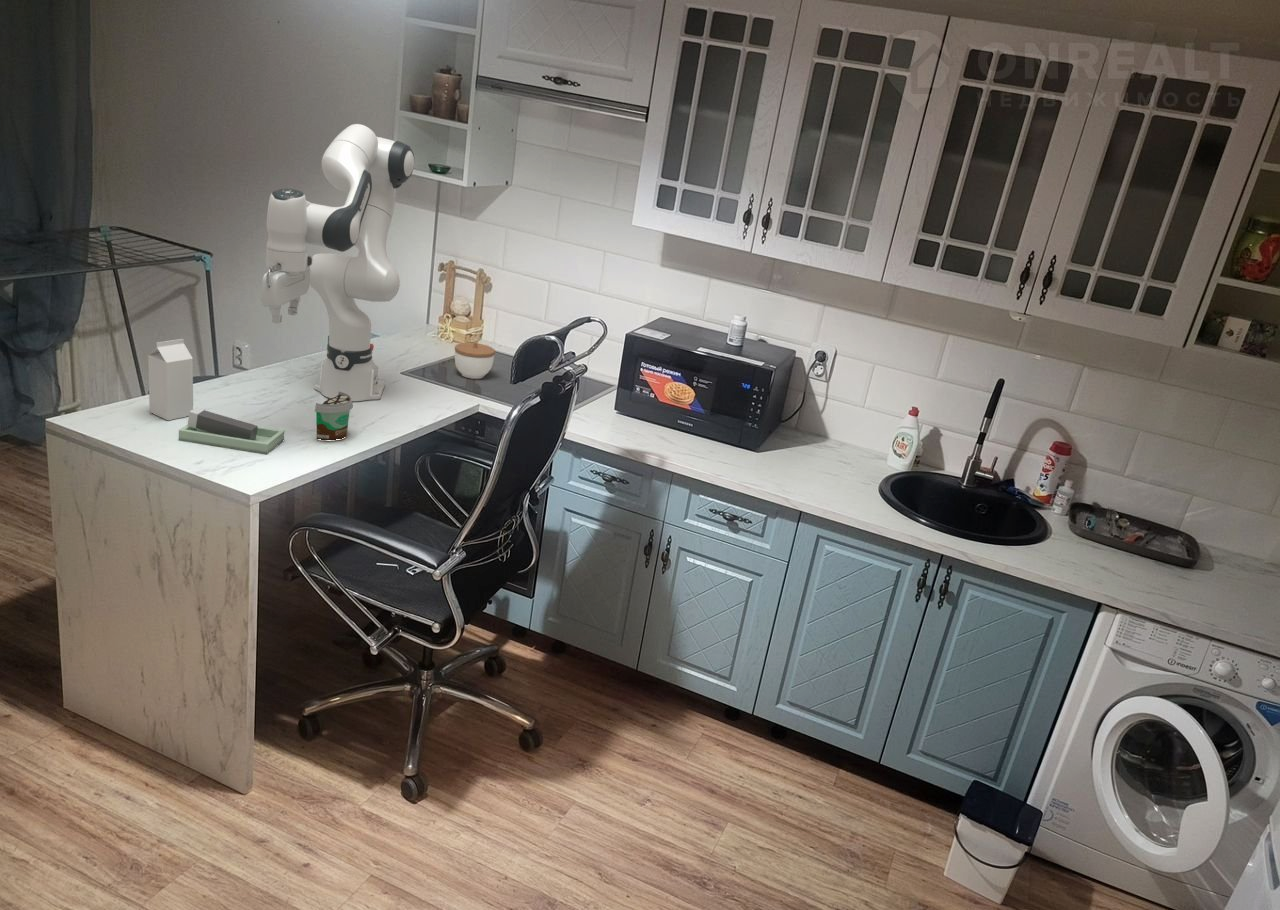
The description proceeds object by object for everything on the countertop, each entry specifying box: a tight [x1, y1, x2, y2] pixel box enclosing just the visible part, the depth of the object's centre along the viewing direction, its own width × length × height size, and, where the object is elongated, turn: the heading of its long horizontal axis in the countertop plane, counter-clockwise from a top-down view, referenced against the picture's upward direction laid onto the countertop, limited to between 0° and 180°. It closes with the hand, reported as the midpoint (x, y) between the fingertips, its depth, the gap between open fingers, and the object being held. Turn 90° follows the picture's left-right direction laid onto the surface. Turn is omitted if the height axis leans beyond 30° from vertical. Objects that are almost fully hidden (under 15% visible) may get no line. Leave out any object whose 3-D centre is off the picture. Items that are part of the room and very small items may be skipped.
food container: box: [314, 392, 354, 440], centre depth 239 cm, size 12×6×10 cm, turn 169°
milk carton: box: [147, 338, 194, 421], centre depth 235 cm, size 7×7×19 cm
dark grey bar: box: [187, 406, 259, 441], centre depth 227 cm, size 15×4×4 cm, turn 87°
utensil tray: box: [178, 424, 286, 455], centre depth 228 cm, size 10×21×2 cm, turn 87°
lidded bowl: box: [454, 341, 496, 380], centre depth 305 cm, size 13×13×11 cm
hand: (284, 318), depth 228 cm, fingers open, 8 cm apart
